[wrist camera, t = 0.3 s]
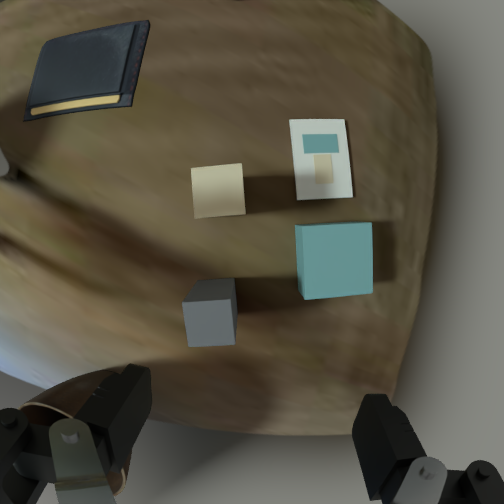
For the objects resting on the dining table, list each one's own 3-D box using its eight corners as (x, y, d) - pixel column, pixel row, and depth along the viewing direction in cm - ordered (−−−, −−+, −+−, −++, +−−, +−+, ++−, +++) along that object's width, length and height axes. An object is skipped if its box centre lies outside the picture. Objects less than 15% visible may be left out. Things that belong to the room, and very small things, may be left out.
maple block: (205, 180, 37) (191, 168, 27) (242, 177, 37) (241, 163, 27) (208, 217, 37) (194, 218, 27) (245, 214, 37) (245, 213, 27)
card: (289, 120, 36) (289, 119, 36) (343, 120, 36) (344, 119, 36) (296, 200, 37) (297, 199, 37) (351, 197, 37) (353, 197, 37)
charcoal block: (197, 280, 38) (182, 302, 28) (234, 277, 38) (230, 299, 28) (201, 315, 39) (188, 347, 29) (237, 312, 39) (235, 344, 29)
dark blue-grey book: (150, 15, 33) (128, 108, 34) (153, 22, 34) (133, 112, 36) (41, 36, 32) (16, 120, 34) (46, 40, 34) (23, 122, 36)
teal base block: (294, 224, 38) (301, 226, 33) (356, 221, 38) (371, 222, 33) (297, 289, 39) (305, 299, 34) (358, 283, 39) (372, 292, 34)
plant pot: (169, 430, 41) (144, 505, 25) (88, 427, 41) (48, 486, 25) (142, 344, 39) (93, 408, 23) (57, 348, 39) (-5, 396, 23)
